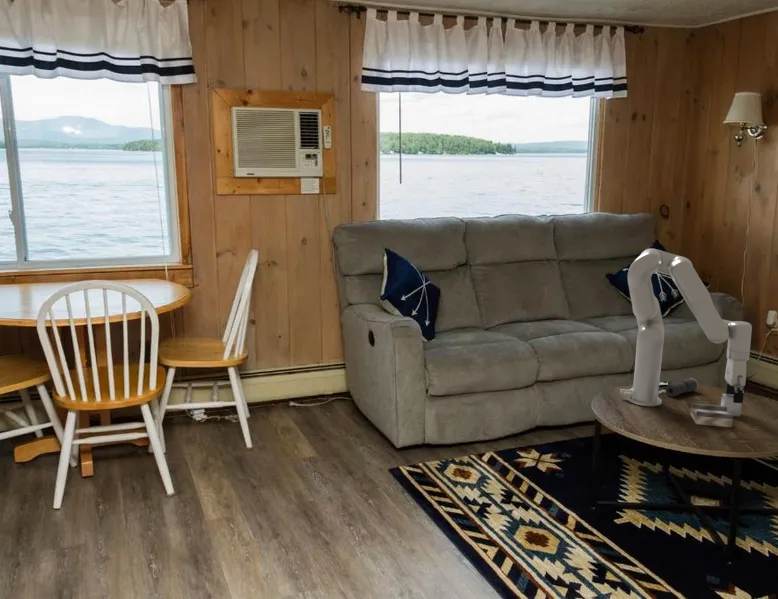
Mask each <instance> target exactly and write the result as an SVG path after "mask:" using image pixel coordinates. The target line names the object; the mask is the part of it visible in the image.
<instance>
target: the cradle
mask: <svg viewBox="0 0 778 599" xmlns="http://www.w3.org/2000/svg"><path fill="white" fill-rule="evenodd" d="M690 416H691V417H692V420H693V421H694V423H695V424H696V425H705V426H714V427H722V428H723V427H725V428H733V423H734V416H733V414H729V413H728V412H727V406H721V405H717V404H708V403H707V404H704V403H694V402H692V403H691V407H690Z"/></svg>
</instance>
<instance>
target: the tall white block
mask: <svg viewBox="0 0 778 599" xmlns="http://www.w3.org/2000/svg"><path fill="white" fill-rule="evenodd" d="M733 397H734V394H726V393H721V399H720V406H727V412H728V413H729V414H733V417H741V414H742V406H743V405H742V404H743V403H734V402H733Z"/></svg>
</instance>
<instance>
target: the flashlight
mask: <svg viewBox="0 0 778 599" xmlns="http://www.w3.org/2000/svg"><path fill="white" fill-rule="evenodd" d="M698 387H699V383H698V381H697V380H696V379H695V378H692V377H689V378H686V379H684V380H681V381H679V382H675V383H670V384H668V385H666V387H665V388H664V390H665V391H664V392H665V393H666V395H667V396H668V397H671V398H674V397H677V396H679V395H680V394H687V393H692V392H694V391H697V390H698Z"/></svg>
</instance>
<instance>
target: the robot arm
mask: <svg viewBox="0 0 778 599" xmlns="http://www.w3.org/2000/svg"><path fill="white" fill-rule="evenodd" d="M655 272H656V273H660V274H663V275H666V276H669V277H671V280H672V281H673V283H674V285H675V286H676V287H677V289H678V291H679V292H680V294H681V296H682V297H683V300H684V301H685V302H686V304H687V306H688V308H689V310H690V311H691V312H692V314H693V316H694V317H695V319H696V321H697V322H698V324H699V325H700V328H701V329H702V330H703V333H704V334H705V336H706V337H707V339H708V340H709V341H710V342H712V343H714V344H722V343H725V342H726V341H727V348H726V358H727V361H726V367H725V374H724V379H725V381H726V391H725V394H734V397H733V402H734V403H742V404H743V403H744V393H745V386H746V381H747V361H749V360H750V352H751V343H752V342H751V340H752V328H753V326H752V324H751V323H750V322H747V321H743V320H742V321H741V320H740V321H739V320H734V321H732V320H727V319H722V317H721V315H720V314H719V312H718V310H717V308H716V307H715V305H714V303H713V302H714V301H713V300H712V297H711V294H710V292H709V290H708V288H707V287H706V285H705V284H704V283H703V280H701V278H700V277H699V274H698V273H697V271H696V269H695V268H694V265H693V263H692V261H691V260H690V259H689V258H687V257H685V256H681V255H679V254H678V255H677V254H675V253H670V252H667V251H663V250H661V249H656V248H646V249H645V250H644V251H642V252H641V253H640V254H639V256H638V257H637V258H636V259H634V261H633V262H632V263H631V264H630V266H629V269H628V272H627V285H628V290H629V296H630V300H631V306H632V313H633V314H634V316H635V318H636V322H637V327H638V332H637V336H636V346H635V347H636V349H635V351H636V352H635V362H634V363H635V364H634V373H633V374H634V375H633V384H632V387H631V388H628V389H624V388H620V389H619V390H620V391H619V394H621V395H624V396H627V400H628V401H629V402H630V403H632V404H635V405H638V406H642V407H658V406H661V405H662V402H663V400H662V399H661V398H660V397H659V389H660V379H661V368H662V360H663V351H664V350H663V349H664V342H665V325H664V321H663V317H662V315H663V314H662V311H661V306H660V303H659V299H658V298H657V297H656V295H655V293H654V288H653V283H652V276H653V274H655Z"/></svg>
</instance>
